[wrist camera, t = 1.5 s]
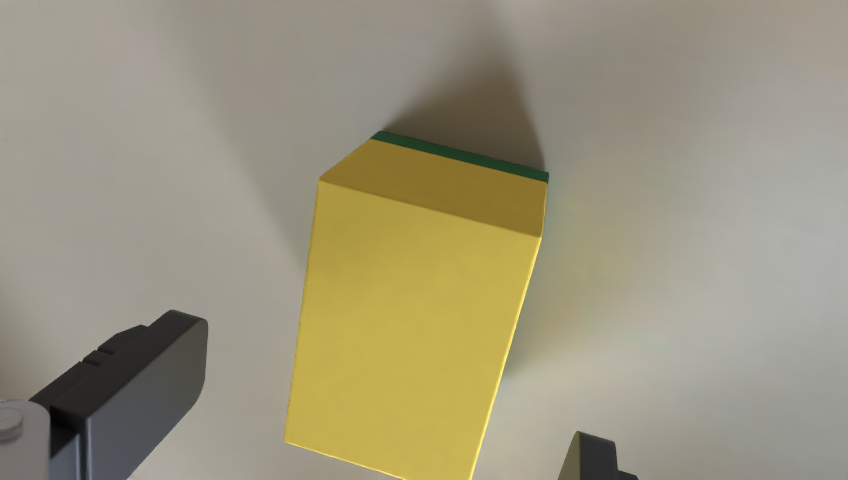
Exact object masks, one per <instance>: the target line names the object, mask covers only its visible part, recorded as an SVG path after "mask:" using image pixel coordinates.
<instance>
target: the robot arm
mask: <svg viewBox="0 0 848 480" xmlns="http://www.w3.org/2000/svg"><path fill="white" fill-rule="evenodd" d="M207 339H208V323H207V321H206V320H205V319H203V318H200V317H196V316H193V315H190V314H186V313H183V312H180V311H176V310H169V311H168V312H166V313H165V314H164V315H162V316H161V317H160V318H159V319H157V320H156V321H155V322H153V323H152V324H151V325H150V326H148V327H147V326H144V325H138V326H136V327H133V328H130V329H128V330H125V331H122V332H120V333H117V334H115V335H114V336H113V337H111V338H110V339H109V340H107V341H106V342H105V343H103V344H102V345H101V346H99V347H98V350H97V351H96V350H94V351H93V352H91V353H90V354H89V355H87V356H86V357H85V358H83V361H82V362H80V361H79V362H78V363H77V364H75V365H74V366H73V367H72V368H70V369H69V370H68V371H66V372H65V373H64V374H62V375H61V376H60V377H58V378H57V379H56V380H54V381H53V382H52V383H50V384H49V385H48V386H46V387H45V388H44V389H42V390H41V391H40V392H38V393H37V394H36V395H34V396H33V397H32V398H30V399H29V400H28V401H25V400H6V401H0V480H126V479H127V478H128V477H129V476H130V475H131V474H132V473H133V472H134V470H135V469H136V468H137V467H138V466H139V465H140V464H141V463H142V462H143V461H144V459H145V458H146V457H147V456H148V455H149V454H150V453H151V452H152V451H153V450H154V448H155V447H156V446H157V445H158V444H159V443H160V442H161V441H162V440H163V439H164V438H165V436H166V435H167V434H168V433H169V432H170V431H171V430H172V429H173V428H174V427H175V425H176V424H177V423H178V422H179V421H180V420H181V419H182V418H183V417H184V416H185V414H186V413H187V412H188V411H189V410H190V409H191V408H192V407H193V405H194V404H195V403H196V401H197V399H198V397H199V395H200V393H201V391H202V388H203V384H204V380H205V368H206V354H207ZM558 480H638V478H637V476H636V475H633V474H629V473H626V472H623V471H619V470H618V466H617V456H616V446H615V443H614V442H613V441H610V440H607V439H603V438H600V437H597V436H593V435H590V434H586V433H583V432H580V431H577V432H576V433H575V434H574V437H573V439H572V442H571V444H570V447H569V450H568V453H567V455H566V458H565V461H564V464H563V466H562V469H561V472H560V474H559V477H558Z"/></svg>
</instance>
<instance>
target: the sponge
mask: <svg viewBox="0 0 848 480" xmlns="http://www.w3.org/2000/svg"><path fill="white" fill-rule="evenodd" d="M548 179H549V173H548V172H545V171H541V170H537V169H533V168H529V167H525V166H521V165H517V164H513V163H509V162H505V161H501V160H497V159H493V158H488V157H484V156H480V155H476V154H472V153H468V152H464V151H460V150H456V149H452V148H448V147H444V146H440V145H436V144H432V143H428V142H424V141H420V140H416V139H412V138H407V137H403V136H399V135H395V134H391V133H387V132H383V131H379V132H377V133H376V134H375V135H373V136H372V137H371V138H370V139H369V140H368V141H366V142H365V143H364V144H363V145H361V146H360V147H359V148H357V149H356V150H355V151H353V152H352V153H351V154H350V155H348V156H347V157H346V158H344V159H343V160H342V161H340V162H339V163H338V164H337V165H335V166H334V167H333V168H331V169H330V170H329V171H327V172H326V173H325V174H323V175H322V176H321V177H320V178H319V179H318V186H317V193H316V201H315V208H314V216H313V223H312V231H311V238H310V246H309V253H308V261H307V268H306V276H305V283H304V291H303V299H302V306H301V314H300V321H299V329H298V336H297V344H296V351H295V359H294V366H293V374H292V382H291V389H290V397H289V404H288V412H287V419H286V427H285V434H284V441H285V442H286V443H289V444H293V445H296V446H299V447H302V448H305V449H309V450H312V451H315V452H318V453H321V454H325V455H328V456H331V457H334V458H337V459H341V460H344V461H347V462H350V463H353V464H357V465H360V466H363V467H366V468H370V469H373V470H376V471H379V472H382V473H386V474H389V475H392V476H395V477H398V478H402V479H405V480H471V478H472V475H473V472H474V468H475V465H476V461H477V458H478V455H479V451H480V448H481V444H482V441H483V437H484V434H485V431H486V427H487V424H488V420H489V417H490V414H491V410H492V407H493V403H494V400H495V397H496V393H497V390H498V386H499V383H500V380H501V376H502V373H503V369H504V366H505V363H506V359H507V356H508V352H509V349H510V345H511V342H512V339H513V335H514V332H515V328H516V325H517V322H518V318H519V315H520V311H521V308H522V305H523V301H524V298H525V294H526V291H527V288H528V284H529V281H530V277H531V274H532V271H533V267H534V264H535V260H536V257H537V254H538V250H539V247H540V243H541V240H542V234H543V225H544V215H545V206H546V196H547V187H548V186H547V185H548Z"/></svg>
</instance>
